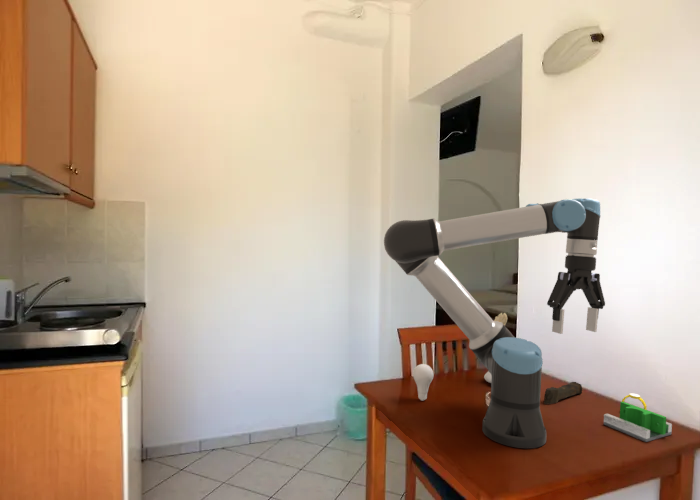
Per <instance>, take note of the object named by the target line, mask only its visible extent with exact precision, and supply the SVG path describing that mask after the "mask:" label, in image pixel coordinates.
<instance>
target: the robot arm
mask: <svg viewBox="0 0 700 500" xmlns="http://www.w3.org/2000/svg"><path fill="white" fill-rule="evenodd" d="M600 219H601V202H600V201H599V200H598V199H596V198H595V199H594V198H582V197H581V198H572V199H569V198H568V199H567V198H565V199H561V200H558V201H557V200H556V201H552V202H545V203H528V204H526V205H525V206H521V207H516V208H511V209H504V210H499V211H493V212H488V213H481V214H480V213H479V214H476V215H470V216H464V217H458V218H457V217H456V218H452V219H447V220H441V221H439V220H437V219H435V218H430V219H419V220H408V219H407V220H406V219H405V220H399V221H397V222H395V223H393V224H392V225H390V226H389V227H388V229H387V230H386V232H385V234H384V239H383V244H384V250H385V252H386V254H387V255H388V256H389V258H391V259H392V260H393V261H395V263H396V264H397V265H398V266H399V268H401V270H403V272H404V273H405V274H406V275H407V276H414V277H415V278H416V279H417V280H418V281H419V283H420V284H421V285H422V286H423V287H424V289H426V291H427V292H428V293H429V294H430V295H431V296H432V298H433V299H434V300H435V301H436V303H438V304H439V306H440V307H441V309H443V311H445V313H446V314H447V315H448V316H449V318H450V319H451V320H452V321H453V322H454V324H455V325H457V327H458V328H459V329H460V331H461V332H463V335H465V336H466V337H467V338H468V340H469V341H468V342H469V343H468V348H469V349H470V350H471V352H473V354H474V355H475V356H476V357H477V359H479V361H480V362H481V363H482V365H483V366H484V368H486V370H487V372H488V371H489V372H490V374H491V376H492V380H491V383H490V402H489V404H488V406H487V410H486V412H485V416H484V418H483V419H482V428H481V429H482V432H483V434H484V435H485V436H486V437H487V438H489V439H490V440H491V441H493V442H495V443H498V444H501V445H504V446H507V447H512V448H517V449H536V448H540V447H542V446H544V445H545V444H546V443H547V429H546V426H545V425H544V419H543V416H542V412H541V407H540V406H541V392H542V391H541V388H542V387H541V386H542V372H543V370H542V369H543V362H544V361H543V357H542V356H543V353H542V350H541V348H540V347H539V345H537V344H536V342H532V341H530V340H527V339H524V338H520V337H515V336H514V335H513V334H512V332H511V331H510V330H509V329H508V327H506V325H505V326H504V324H503V323H502V322H499V321H494V320H493V318H492V317H491V316H490V315H489V313H487V312H486V310H485V309H484V308H483V307H482V306H481V305H480V304H479V302H478V301H477V299H475V298H474V297H473V296H472V294H471V293H470V292H469V291H468V290H467V289H466V287H465V286H464V285H463V284H462V282H461V281H460V280H459V279H458V278H457V277H456V276H455V275H454V273H452V271H451V270H450V269H449V268H448V266H447V265H446V264H445V263H444V262H443V261H442V260H441V258H440V257H439V256H441V255H442V254H443V252H444V251H451V250H457V249H460V248H461V249H462V248H468V247H473V246H475V247H476V246H478V245H485V244H492V243H498V242H499V243H500V242H505V241H509V240H510V241H511V240H517V239H521V238H528V237H534V236H539V235H546V234H547V235H548V234H554V233H566V245H565V253H566V254H567V255H566V256H565V258H564V260H565V262H564V268H565V269H567V272H564V271H559V272H558V273H557V279H556V282H555V284H554V285H553V286H554V287H553V289H552V291H551V293H550V296H549V297H548V301H547V303H546V305H547V306H549V308H552V315H551V316H552V318H551V319H552V327H551V328H552V329H551V330H552V331H551V332H554V333H556V334H559V335H561V334H563V332H564V323H565V322H564V320H565V309H563V307H564V306H565V304H566V303H567V302H568V300H569V299H570V298H571V296H572V294H573V293H574V292H575V291H577V290H581V291H582V293H583V294H584V296H585V298H586V300H587V303H588V305H589V306H590V307H589V306H588V307H587V313H586V314H587V315H586V325H585V330H586V331H590V332H594V333H597V330H598V329H597V328H598V319H599V312H600V310H603V308H604V307H605V306H606V301H605V297H604V293H603V290H602V285H601V277H600V276H601V274H600V273H596V272H594V271H595V270H596V266H597V258H596V257H595V256H597V253H598V251H597V250H598V237H599V228H600ZM592 271H593V272H592Z"/></svg>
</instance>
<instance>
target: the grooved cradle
mask: <svg viewBox="0 0 700 500" xmlns="http://www.w3.org/2000/svg"><path fill="white" fill-rule="evenodd" d="M657 423H658V422H657ZM603 425H604V426H605V427H609V428H610V429H613V430H616V431H619V432H621V433H623V434H626V435H628V436H630V437H633V438H635V439H637V440H639V441H643V442H645V443H647V442H651V441H654V440H658V439H661V438H665V437H668V436H671V435H672V430H673V429H672V427H673V424H672V423H671V422H668V421H666V432H665V434H664V435H662V434H659V433H657V432H654V431H652V430H649V429H646V428H644V427H641V426H638V425H636V424H633V423H631V422H628V421H626V420H623V419H621V418H620V417H618V416H615V415H612V414H610V413H604V414H603ZM658 425H659V423H658Z"/></svg>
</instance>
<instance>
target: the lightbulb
mask: <svg viewBox="0 0 700 500" xmlns="http://www.w3.org/2000/svg"><path fill="white" fill-rule="evenodd" d="M434 374H435V373H434V371H433V369H432V367H431V366H430V365H429V364H426V363H420V364H418V365H416V366H415V367H414V369H413V371H412V375H413V376H412V377H413V380H414V382H415V384H416V389H417V395H418V396H417V397H418V399H419V400H420V401H425V400H427V398H428V392H429V387H430V385H431V383H432V381H433V379H434Z"/></svg>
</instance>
